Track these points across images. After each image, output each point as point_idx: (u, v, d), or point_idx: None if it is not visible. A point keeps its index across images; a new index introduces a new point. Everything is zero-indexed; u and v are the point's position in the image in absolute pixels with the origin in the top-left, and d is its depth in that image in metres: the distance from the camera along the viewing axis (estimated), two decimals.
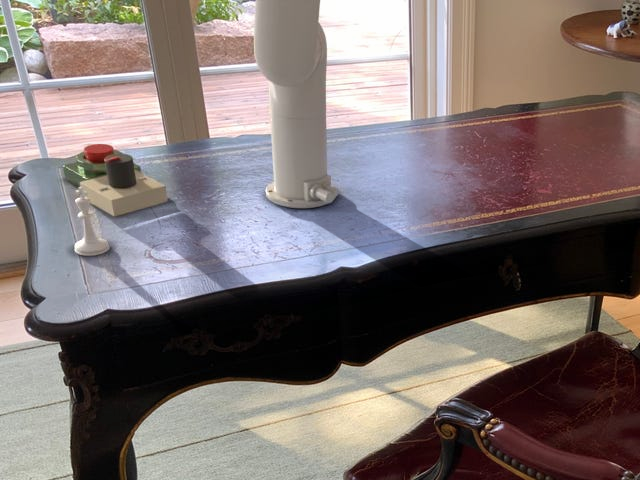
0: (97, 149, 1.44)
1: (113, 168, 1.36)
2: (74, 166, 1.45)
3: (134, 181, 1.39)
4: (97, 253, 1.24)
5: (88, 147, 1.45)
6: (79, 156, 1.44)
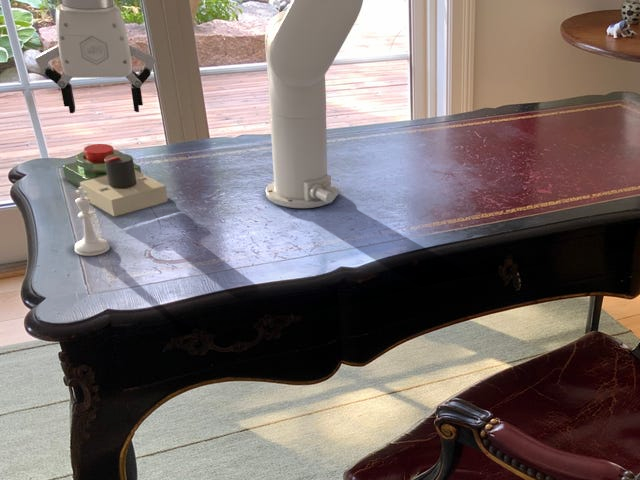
0: (97, 149, 1.44)
1: (113, 168, 1.36)
2: (74, 166, 1.45)
3: (134, 181, 1.39)
4: (97, 253, 1.24)
5: (88, 147, 1.45)
6: (79, 156, 1.44)
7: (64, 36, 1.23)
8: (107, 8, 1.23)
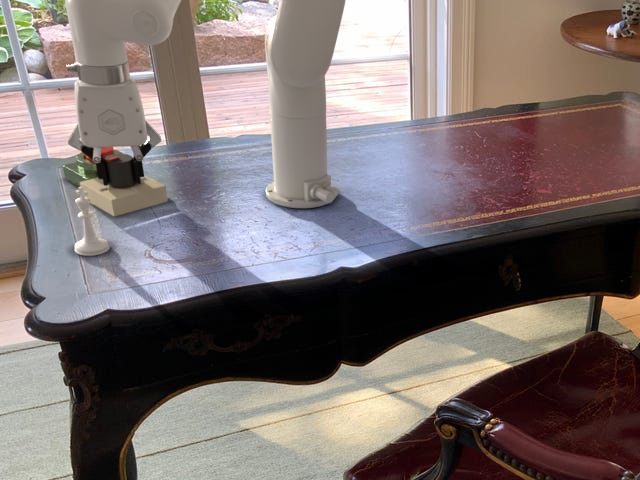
0: None
1: (113, 168, 1.36)
2: (74, 166, 1.45)
3: (134, 181, 1.39)
4: (97, 253, 1.24)
5: None
6: (79, 156, 1.44)
7: (83, 110, 1.29)
8: (124, 83, 1.29)
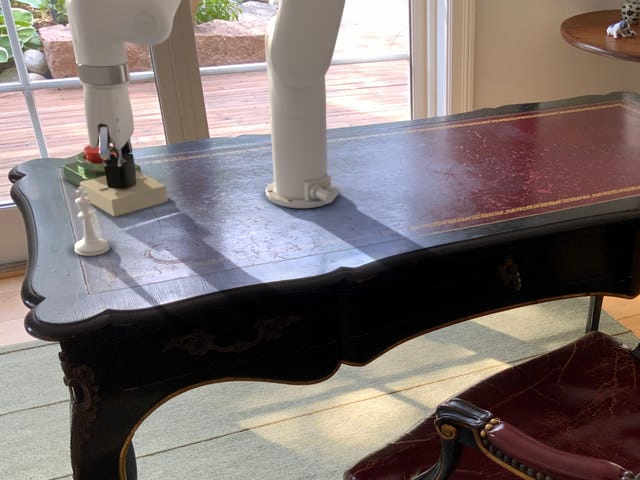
0: (97, 149, 1.44)
1: None
2: (74, 166, 1.45)
3: None
4: (97, 253, 1.24)
5: (88, 147, 1.45)
6: (79, 156, 1.44)
7: None
8: (83, 82, 1.27)
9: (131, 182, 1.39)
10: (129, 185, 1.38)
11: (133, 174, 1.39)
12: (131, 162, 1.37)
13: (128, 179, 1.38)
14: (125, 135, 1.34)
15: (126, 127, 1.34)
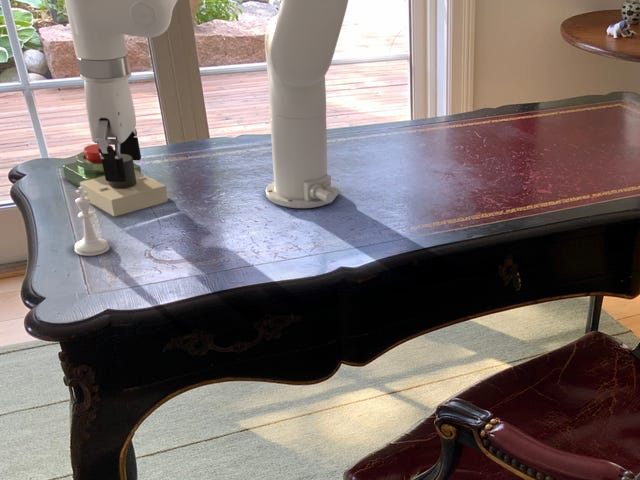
0: (97, 149, 1.44)
1: None
2: (74, 166, 1.45)
3: (113, 184, 1.38)
4: (97, 253, 1.24)
5: (88, 147, 1.45)
6: (79, 156, 1.44)
7: None
8: (83, 77, 1.27)
9: (131, 182, 1.39)
10: (129, 185, 1.38)
11: (133, 174, 1.39)
12: (131, 162, 1.37)
13: (128, 179, 1.38)
14: (127, 129, 1.33)
15: (128, 121, 1.33)
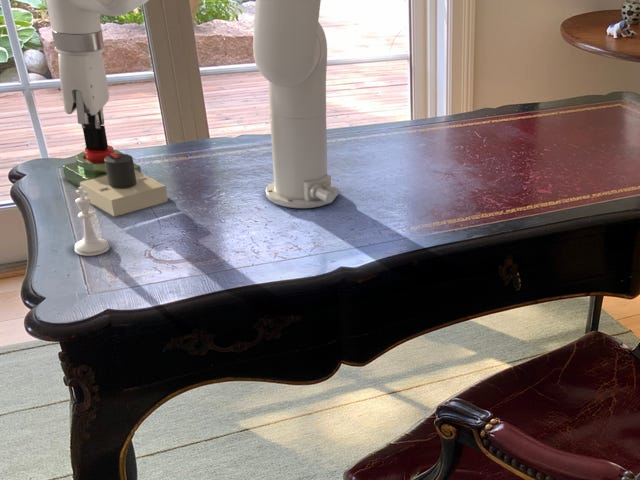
0: None
1: None
2: (74, 166, 1.45)
3: (113, 184, 1.38)
4: (97, 253, 1.24)
5: None
6: (79, 156, 1.44)
7: None
8: (58, 49, 1.32)
9: (131, 182, 1.39)
10: (129, 185, 1.38)
11: (133, 174, 1.39)
12: (131, 162, 1.37)
13: (128, 179, 1.38)
14: (99, 102, 1.39)
15: (100, 94, 1.39)
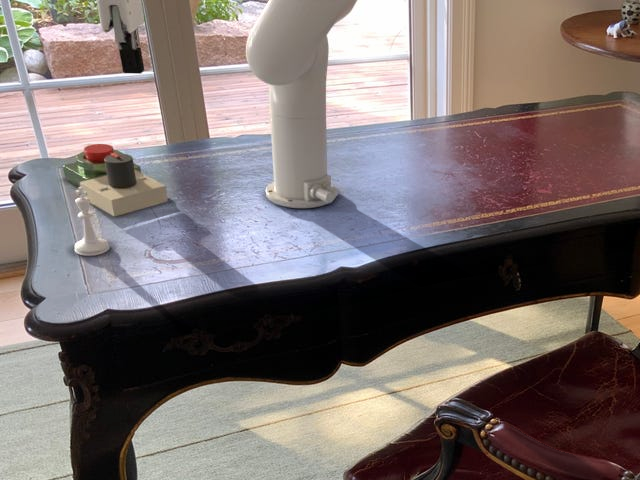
0: (97, 149, 1.44)
1: None
2: (74, 166, 1.45)
3: (113, 184, 1.38)
4: (97, 253, 1.24)
5: (88, 147, 1.45)
6: (79, 156, 1.44)
7: None
8: None
9: (131, 182, 1.39)
10: (129, 185, 1.38)
11: (133, 174, 1.39)
12: (131, 162, 1.37)
13: (128, 179, 1.38)
14: (135, 20, 1.36)
15: (136, 12, 1.36)
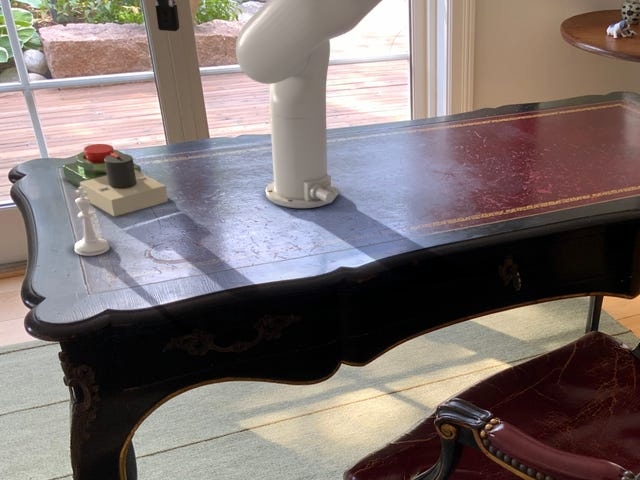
0: (97, 149, 1.44)
1: None
2: (74, 166, 1.45)
3: (113, 184, 1.38)
4: (97, 253, 1.24)
5: (88, 147, 1.45)
6: (79, 156, 1.44)
7: None
8: None
9: (131, 182, 1.39)
10: (129, 185, 1.38)
11: (133, 174, 1.39)
12: (131, 162, 1.37)
13: (128, 179, 1.38)
14: None
15: None
